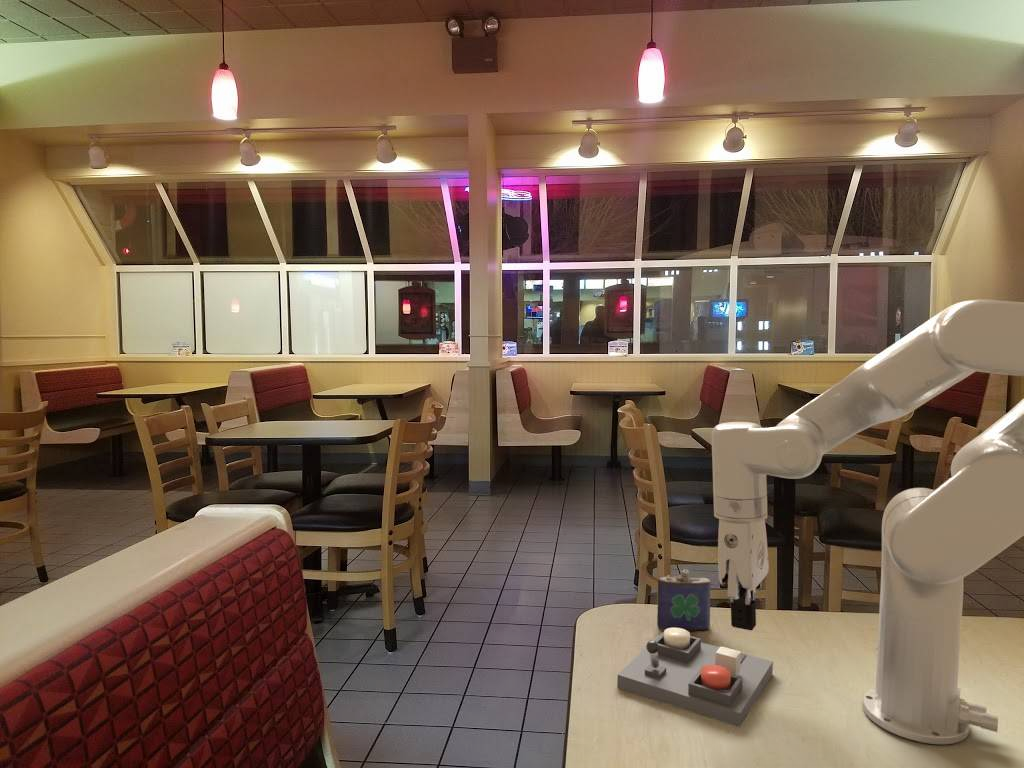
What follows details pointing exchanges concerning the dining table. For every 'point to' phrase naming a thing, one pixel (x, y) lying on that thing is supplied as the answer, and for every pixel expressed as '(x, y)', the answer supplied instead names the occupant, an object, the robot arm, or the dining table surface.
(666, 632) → the ivory button
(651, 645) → the toggle lever
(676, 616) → the flask
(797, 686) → the dining table surface
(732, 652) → the beige cube
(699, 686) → the panel
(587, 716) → the dining table surface
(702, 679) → the red button
